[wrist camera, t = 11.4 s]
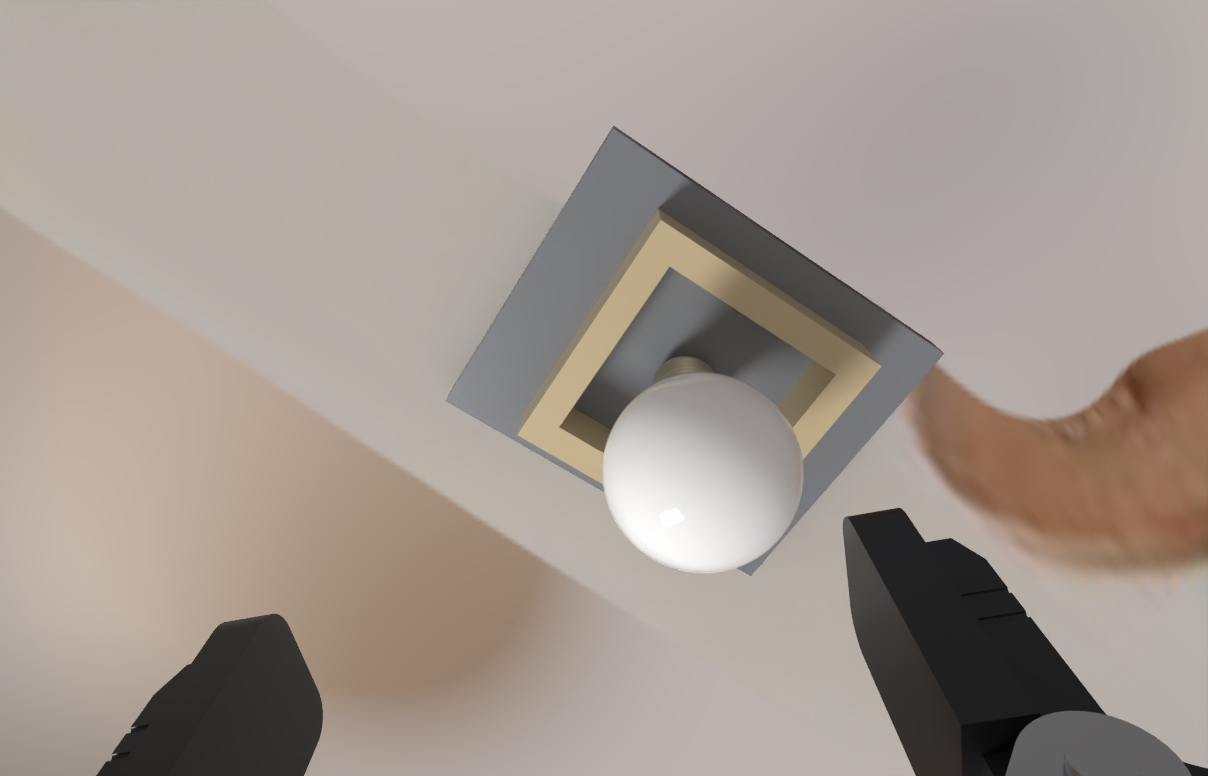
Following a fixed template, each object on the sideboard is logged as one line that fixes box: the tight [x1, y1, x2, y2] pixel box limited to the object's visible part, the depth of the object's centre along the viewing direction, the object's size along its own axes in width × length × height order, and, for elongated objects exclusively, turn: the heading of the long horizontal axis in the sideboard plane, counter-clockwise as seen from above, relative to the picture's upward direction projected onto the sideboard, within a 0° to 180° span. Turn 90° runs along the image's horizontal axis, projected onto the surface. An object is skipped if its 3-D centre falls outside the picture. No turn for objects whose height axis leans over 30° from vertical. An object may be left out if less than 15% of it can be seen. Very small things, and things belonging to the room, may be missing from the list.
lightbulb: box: [602, 356, 804, 573], centre depth 27 cm, size 6×6×11 cm
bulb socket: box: [446, 126, 944, 576], centre depth 31 cm, size 16×13×4 cm
